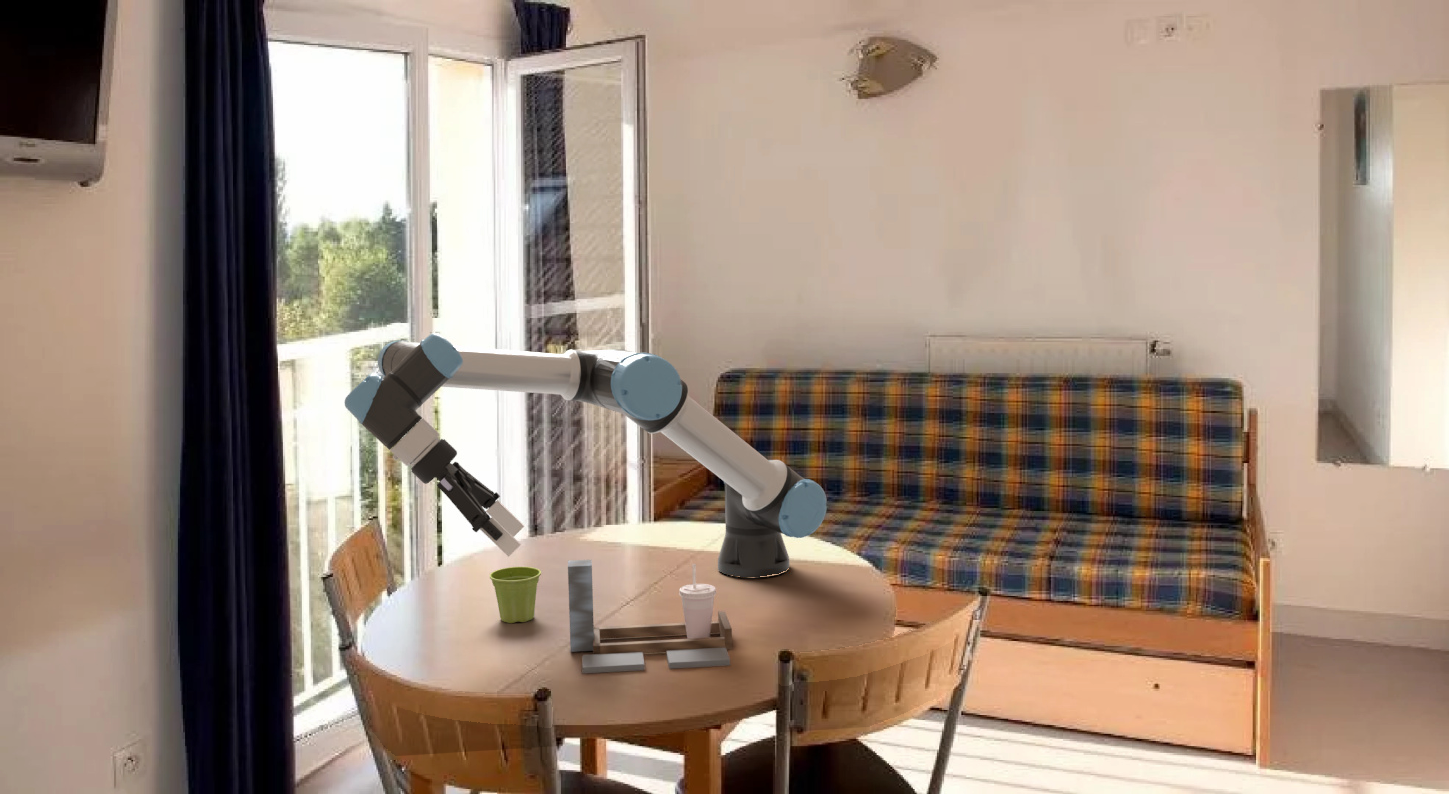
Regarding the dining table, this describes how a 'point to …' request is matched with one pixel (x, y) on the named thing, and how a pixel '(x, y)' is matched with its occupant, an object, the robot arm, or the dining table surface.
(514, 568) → the plant pot
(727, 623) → the sled
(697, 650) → the broken strip
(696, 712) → the dining table surface
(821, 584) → the dining table surface
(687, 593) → the smoothie
